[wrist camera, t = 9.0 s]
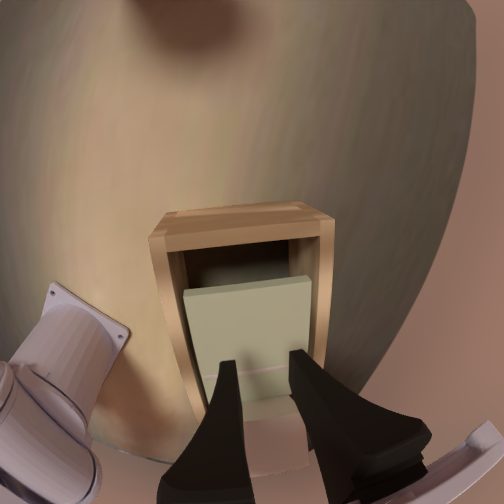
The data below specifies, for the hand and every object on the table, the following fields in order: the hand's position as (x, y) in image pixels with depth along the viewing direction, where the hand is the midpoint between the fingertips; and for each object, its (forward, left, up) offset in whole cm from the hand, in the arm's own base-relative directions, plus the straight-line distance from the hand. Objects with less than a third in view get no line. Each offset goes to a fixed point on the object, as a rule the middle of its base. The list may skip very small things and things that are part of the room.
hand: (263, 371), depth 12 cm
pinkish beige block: (-7, -6, -3) cm, 9 cm away
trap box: (-1, -1, -10) cm, 10 cm away
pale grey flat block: (-3, -2, -4) cm, 5 cm away
